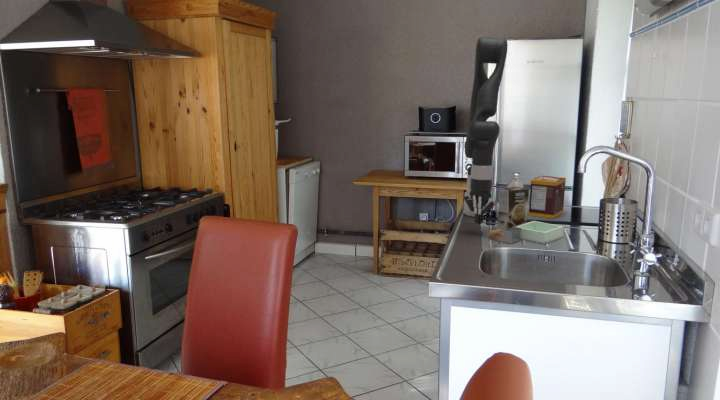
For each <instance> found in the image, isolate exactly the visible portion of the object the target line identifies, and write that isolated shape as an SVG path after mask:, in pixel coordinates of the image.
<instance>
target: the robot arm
mask: <svg viewBox="0 0 720 400" xmlns="http://www.w3.org/2000/svg"><path fill="white" fill-rule="evenodd" d="M507 53H508V39H506V38H505V37H497V36H496V37H493V36H492V37H491V36H480V37H479V38H478V39H477V42H476V48H475V55H474V56H475V58H474V60H475V61H474V73H473V74H474V75H473V83H472V92H471V97H470V107H469V121H468V126H467V132H466V137H465V144H464V145H465V146H464V154H465V157H466V158H467V159H472V160H471V161H472V162H471V163H472V164H471V166H468V168H467V171H466V172H467V174H466V191H465V192H464V196H463V198H464V199H463V214H464V215H466V216H468V217H474V223H475V224H477V225H482V224H483V223H484V217H483V216H484V215H485V214H486V213H488V214H489V213H490V211H491V210H492V209H493V208H494V207H495V206H496V204H497V201H496V200H494V199H493V198H492V194H491V191H492V186H493V184H492V182H493V158H494V157H493V156H494V149H495V146H496V143H497V140H498V137H499V134H500V124H499V123H498V122H496V121H495V120H494V121H493V120H492V121H490V120H488V119H490V118H492V117H494V116H495V115H496V114H497V109H498V108H497V107H498V100H499V99H498V98H499V91H500V86H501V82H502V79H503V76H504V69H505V65H506V60H507ZM484 64H495V68H494V70H493V72H492V73H491V74H490V76H489V77H488V75H487V73H486V70H485V65H484Z"/></svg>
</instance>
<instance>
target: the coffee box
mask: <svg viewBox="0 0 720 400" xmlns="http://www.w3.org/2000/svg"><path fill="white" fill-rule="evenodd" d="M529 197H530V188H526V187H524V188H520V187H510V188H507V187H501V188H499V197H498V198H499V199H498V210H497V211H498V212H497V225H496V226H497V227H496V229H502V230H505V229H508V228H511V227H516V226H519V225H522V224H525V223H528V222H527V219H528V210H529V206H528V205H529Z"/></svg>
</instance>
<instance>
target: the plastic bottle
mask: <svg viewBox="0 0 720 400" xmlns="http://www.w3.org/2000/svg"><path fill="white" fill-rule="evenodd" d="M510 178H511V179H510V180H509V181H508V183H507V186H506V188H510V187H520V188H525V187H524V183H523V182H522V179H521V178H522V173H521V172H511V175H510Z"/></svg>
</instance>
